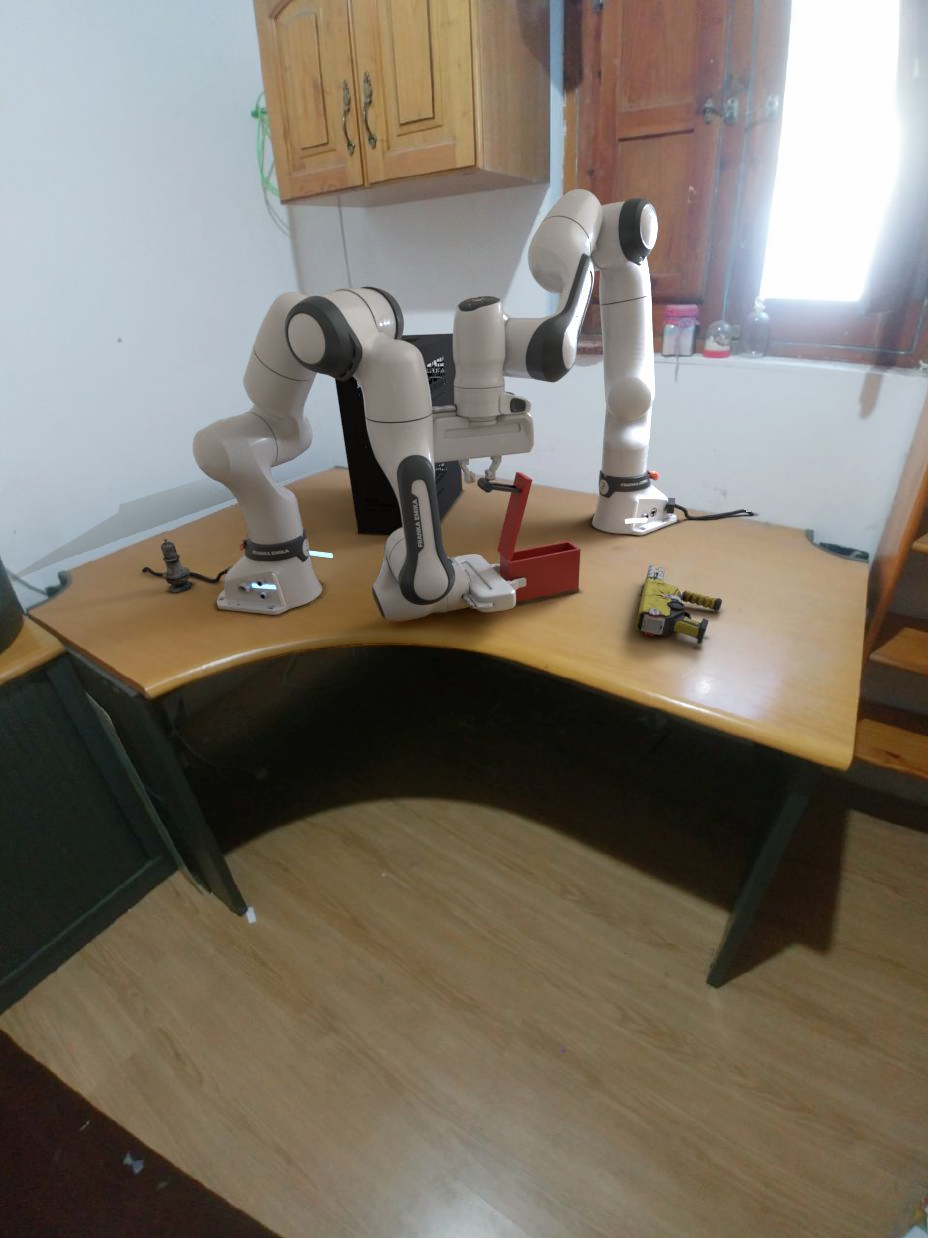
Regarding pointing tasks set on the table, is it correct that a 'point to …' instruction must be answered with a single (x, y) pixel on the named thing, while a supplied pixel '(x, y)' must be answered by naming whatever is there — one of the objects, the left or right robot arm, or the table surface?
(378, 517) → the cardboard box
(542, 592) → the chest
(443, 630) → the table surface
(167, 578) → the salt shaker
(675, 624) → the toy gun
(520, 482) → the lid
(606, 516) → the right robot arm
